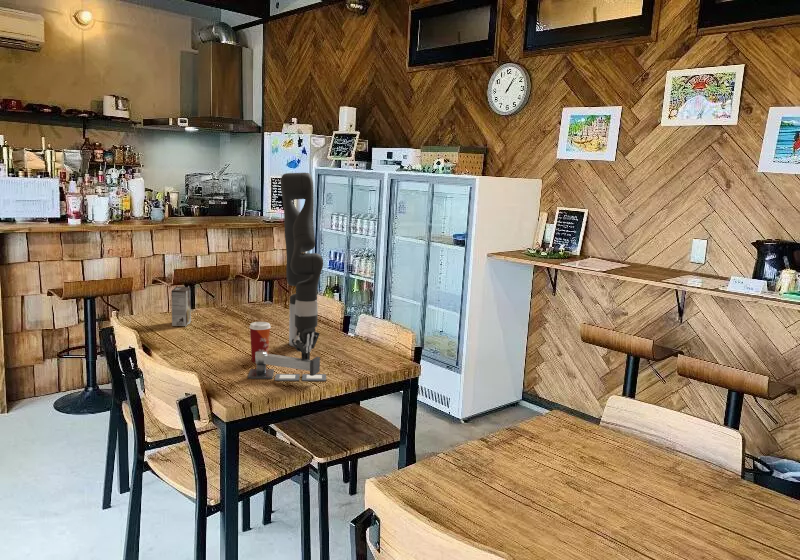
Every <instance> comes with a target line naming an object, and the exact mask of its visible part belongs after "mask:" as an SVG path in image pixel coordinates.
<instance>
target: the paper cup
mask: <svg viewBox="0 0 800 560" xmlns="http://www.w3.org/2000/svg"><path fill="white" fill-rule="evenodd" d="M248 328H249V330H250V331H249V333H250V349H251V351H250V352H251V362H253V363H255V352H257V351H267V354H269V350H270V349H269V347H270V334H271V333H270V331H271V328H272V326H271V324H270V323H269V322H266V321H254V322H251V323H250V325H249V326H248ZM255 364H256V363H255Z"/></svg>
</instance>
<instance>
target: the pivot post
mask: <svg viewBox="0 0 800 560" xmlns="http://www.w3.org/2000/svg"><path fill="white" fill-rule="evenodd" d="M255 364H256V363H255ZM274 372H275V369H274V368H267V364H256V368H250V370H249V372H248V374H247V379H248V380H273V376H274Z"/></svg>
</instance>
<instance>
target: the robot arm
mask: <svg viewBox="0 0 800 560" xmlns="http://www.w3.org/2000/svg"><path fill="white" fill-rule="evenodd" d="M313 180H314V179H313V177H312V175H311V173H309V172H288V173H284V174H282V175H281V179H280V189H281V190H280V191H281V198H282V206H283V207H282V208H283V215H284V216H283V218H284V219H283V220H284V221H283V222H284V241H285V250H286V251H285V252H286V253H285V254H286V268H285V269H286V271H285V272H286V282H287V284H288V285H289V286H291V287H295V293H294V294H292V295H290V296H289V321H288V322H289V323H288V325H289V328H288V330H289V331H288V332H289V333H288V337H289V338H288V340H289V341H288V345H289V346H291V347H293V348H295V349H296V352H298V353H299V352H300V353H301V359H308V360H311V351H312V349H315V346H316V344H317V341H318V339H319V338H320V337H319V336H320V332H318V331H316V328H317V327H318V318H319V317H318V316H319V315H318V313H319V311H318V309H319V308H318V305H319V304H318V288H319V287H318V286H319V280H320V276H321V273H322V271H323V266H324V258H323V256H322V255H321V254H320V253H316V252H311V253H309V251H312V250H314V249H315V247H316V238H315V237H316V236H315V230H314V229H315V227H314V213H315V212H314V209H315V206H314V202H315V200H314V199H315V197H314V195H315V193H314V181H313ZM293 200H304V203H303V206H302V208H301V210H300V211H299V210H298V209H297V207H296V205H295V204H294V202H293ZM306 252H307V253H306Z"/></svg>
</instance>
